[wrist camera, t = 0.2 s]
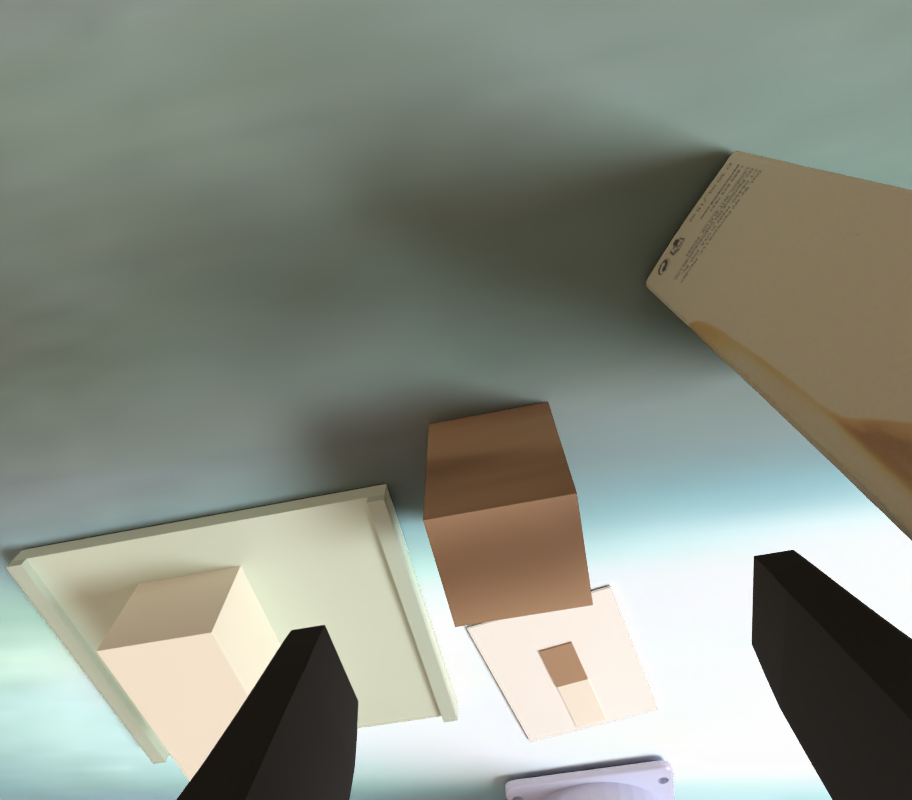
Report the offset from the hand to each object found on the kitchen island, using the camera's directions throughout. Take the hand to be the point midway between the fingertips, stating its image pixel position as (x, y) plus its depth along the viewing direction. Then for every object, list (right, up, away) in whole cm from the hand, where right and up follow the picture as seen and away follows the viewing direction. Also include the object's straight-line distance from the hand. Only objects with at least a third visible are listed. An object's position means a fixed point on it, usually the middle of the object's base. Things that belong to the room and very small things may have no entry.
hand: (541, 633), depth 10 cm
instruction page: (+3, -8, +15) cm, 17 cm away
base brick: (-10, -6, +14) cm, 18 cm away
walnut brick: (0, +2, +10) cm, 11 cm away
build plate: (-9, -6, +14) cm, 18 cm away
